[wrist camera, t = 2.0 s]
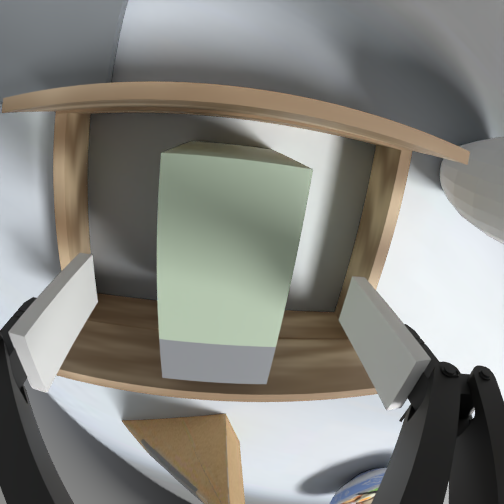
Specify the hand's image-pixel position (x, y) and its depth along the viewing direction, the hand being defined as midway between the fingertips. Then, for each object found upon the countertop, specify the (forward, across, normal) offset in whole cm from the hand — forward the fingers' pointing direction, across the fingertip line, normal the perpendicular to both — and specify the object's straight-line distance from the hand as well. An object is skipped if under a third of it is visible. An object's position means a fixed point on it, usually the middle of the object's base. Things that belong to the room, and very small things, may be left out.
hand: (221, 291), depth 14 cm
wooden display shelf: (+10, 0, 0) cm, 10 cm away
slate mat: (+10, -18, +18) cm, 28 cm away
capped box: (+10, 0, 0) cm, 10 cm away
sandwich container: (+11, -4, -30) cm, 33 cm away
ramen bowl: (+11, +37, -55) cm, 67 cm away
